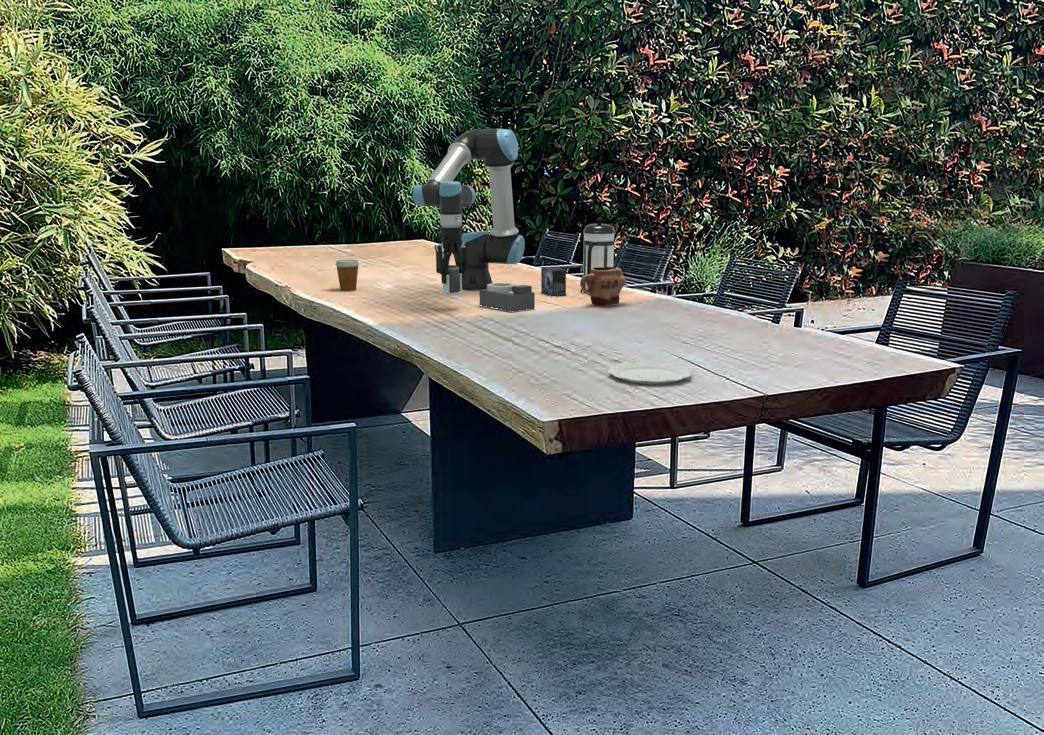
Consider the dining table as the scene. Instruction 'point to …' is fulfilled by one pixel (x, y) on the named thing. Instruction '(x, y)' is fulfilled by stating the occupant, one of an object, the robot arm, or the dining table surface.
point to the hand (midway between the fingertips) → (452, 291)
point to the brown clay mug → (604, 285)
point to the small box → (553, 281)
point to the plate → (649, 372)
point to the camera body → (508, 296)
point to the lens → (453, 280)
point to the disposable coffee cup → (347, 274)
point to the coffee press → (598, 247)
